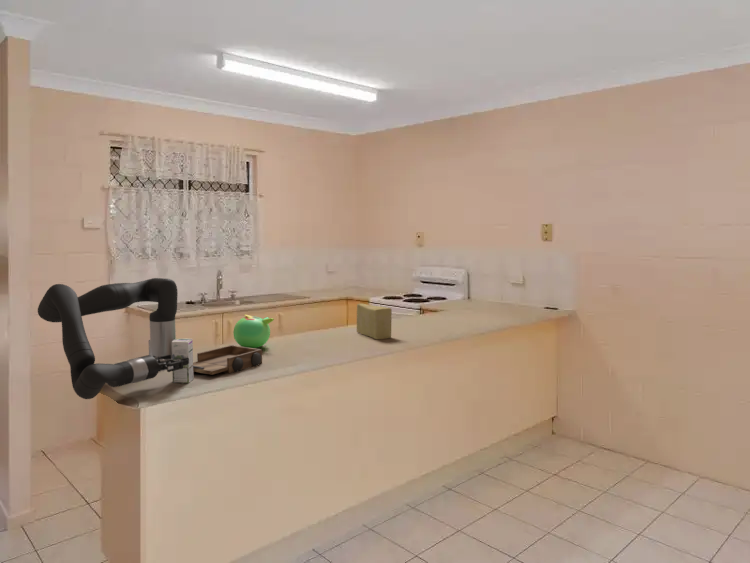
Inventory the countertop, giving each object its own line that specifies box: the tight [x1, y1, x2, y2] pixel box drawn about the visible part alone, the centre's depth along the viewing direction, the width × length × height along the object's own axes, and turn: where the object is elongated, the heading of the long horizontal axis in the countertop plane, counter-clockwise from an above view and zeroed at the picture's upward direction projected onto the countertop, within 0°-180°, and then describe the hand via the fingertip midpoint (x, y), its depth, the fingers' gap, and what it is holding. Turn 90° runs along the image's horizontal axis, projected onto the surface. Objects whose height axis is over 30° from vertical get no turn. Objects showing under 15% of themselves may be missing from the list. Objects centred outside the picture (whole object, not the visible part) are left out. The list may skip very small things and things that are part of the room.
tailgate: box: [193, 361, 228, 376], centre depth 209 cm, size 16×8×2 cm, turn 60°
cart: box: [196, 345, 263, 374], centre depth 220 cm, size 18×18×6 cm
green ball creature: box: [232, 314, 275, 349], centre depth 253 cm, size 18×17×15 cm
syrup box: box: [171, 338, 194, 384], centre depth 197 cm, size 6×6×14 cm
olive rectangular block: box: [356, 303, 392, 340], centre depth 284 cm, size 22×10×15 cm, turn 37°
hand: (179, 359), depth 195 cm, fingers open, 8 cm apart
